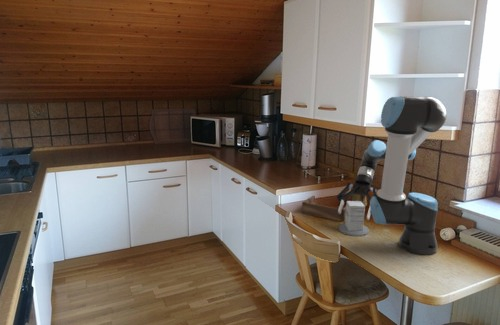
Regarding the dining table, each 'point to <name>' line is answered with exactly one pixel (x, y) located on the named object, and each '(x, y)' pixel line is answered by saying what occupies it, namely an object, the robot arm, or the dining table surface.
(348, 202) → the supplement box
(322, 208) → the walnut cubby
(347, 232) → the slate mat
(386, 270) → the dining table surface
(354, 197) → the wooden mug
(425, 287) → the dining table surface
